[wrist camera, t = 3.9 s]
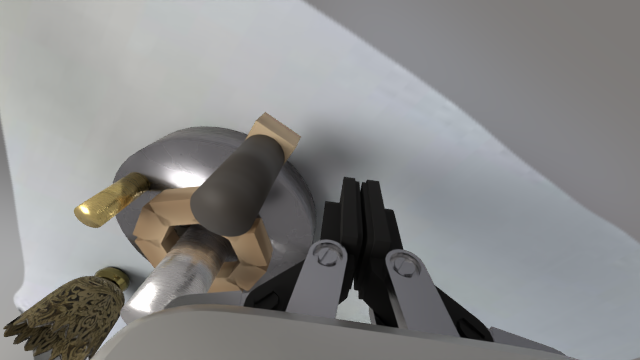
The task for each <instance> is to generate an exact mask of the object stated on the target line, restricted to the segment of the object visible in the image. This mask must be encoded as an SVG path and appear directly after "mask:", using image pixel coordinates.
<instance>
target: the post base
mask: <svg viewBox="0 0 640 360" xmlns="http://www.w3.org/2000/svg"><path fill="white" fill-rule="evenodd" d="M247 136H248V135H246V134H243V133H240V132H237V131H233V130H230V129H224V128H219V127H204V126H203V127H190V128H186V129H182V130H178V131H176V132H173V133H171V134H168V135H167V136H165V137H163V138H161V139H159V140H157V141H156V142H154V143H152V144H150V145H148V146H147V147H145V148H143V149H141V150H139V151H138V152H136V153H135V154H133V155H132V156H130V157H129V158H128V159H127V160H126V161H125V162H124V163H123V164H122V165H121V167H120V168H119V170H118V171H117V173H116V176H115V178H114V181H113V184H112V185H111V186H109V187H107V188H106V189H104V190H103V191H101V192H99V193H98V194H96V195H95V196H93V197H92V198H90V199H88V200H87V201H85V202H84V203H82V204H80V205H79V206H77V207H76V208H75V209H74V214H75V216H76V217H77V218H78V220H79V221H81V222H82V223H83V224H85V225H87V226H89V227H93V228H99V227H101V226H102V225H103V224H105V223H106V222H107V221H109V220H110V219H111V218H112V217H114V216H116V218H117V221H118V223H119V225H120V227H121V229H122V231H123V232H124V234H125V235H126V237H127V238H128V240H129V241H130V242H131V244H132V245H133V246H134V247H135V248H136V250H137V251H138V252H139V253H140V254H141V255H142V256H144V257H145V258H146V259H147V257H146V256H145V255H144V253H143V252H142V251H141V249H140V248H139V247H138V245H137V244H136V243H135V240H136V239H137V238H138V237H137V236H135V235H133V232H134V229H135V226H136V224H137V221H138V218H139V215H140V213H141V210H142V207H143V206H144V205H146V204H147V203H148V202H149V201H150V200H152V199H153V198H154V197H155V196H156V195H158V194H160V193H161V192H162V191H164V190H166V189H176V188H185V187H195V186H201V185H202V184H203V183H204V182H205V181H206V180H207V179H208V178H209V177H210V176H211V175H212V173H213V172H214V171H215V170H216V169H217V168H218V167H219V166H220V165H221V164H222V163H223V162H224V161H225V160H226V159H227V158H228V157H229V156H230V155H231V154H232V153H233V152H234V151H235V150H236V149H237V148H238V147H239V146H240V145H241V144H242V143H243V142H244V141H245V139H246V137H247ZM256 218H262V221H263V224H264V226H265V229H266V232H267V234H268V237H269V240H270V242H271V245H272V248H273V251H272V254H271V255H272V257H271V260H270V263H269V266H268V269H267V272H266V273H265V274H264V275H263V276H262V277H261V278H260V279H259V280H258V281H257V282H256V283H255V284H254V286H253V287H252V288H251V289H250V290H249V291H246V290H243V292H242V293H250V292H251V291H252V290H254V289H255V288H256V287H258V286H260V285H261V284H263V283H265V282H267V281H268V280H270V279H272V278H273V277H275V276H277V275H279V274H280V273H282V272H284V271H286V270H287V269H289V268H291V267H292V266H294V265H296V264H298V263H299V262H301V261H303V260H305V259H306V256H307V254H308V251H309V249H310V247H311V246H312V243H313V238H314V232H315V226H316V211H315V205H314V201H313V198H312V195H311V193H310V191H309V189H308V187H307V184H306V183H305V181H304V180H303V178H302V177H301V175H300V174H299V173H298V172H297V170H296V169H295V168H294V167H293V166H292V165H291V164H290V163H289V162H288V161H286V162H285V164H284V165H283V166H282V168H281V170H280V172H279V174H278V176H277V178H276V180H275V182H274V184H273V186H272V188H271V190H270V192H269V194H268V196H267V198H266V200H265V202H264V204H263V206H262V208H261V210H260V212H259V213H258V215H257V217H256ZM174 230H175V232H176V233H177V235H178V236H179V238H180V239H179V240H178V241H177V243H176V244H175V245H174V246H173V247H172V249H171V250H170V251H169V252H168V253H167V255H166V256H165V257H164V258H163V259H162V261H161V262H160V263H159V264H158V265H157V267H156V268H155V269H154V270H153V271H152V273H151V274H150V275H149V276H148V277H147V279H146V280H145V281H144V282H143V283H142V285H141V286H140V287H139V288H138V289H137V291H136V292H135V293H134V294H133V295H132V297H131V298H130V299H129V300H128V301H127V303H126V304H125V305H124V306H123V307H122V309H121V311H120V314H121V317H122V319H123V320H124V322H125V323H126V324H127V325H128V324H129V323H131V322H133V321H135V320H137V319H139V318H141V317H144V316H146V315H149V314H152V313H154V312H158V311H161V310H163V309H164V308H165V306H166V305H167V304H168V303H170V302H171V301H172V300H174V299H176V298H177V297H179V296H183V295H188V294H201V293H207V292H208V290H209V289H210V287H211V285H212V283H213V281H214V280H215V278H216V276H217V274H218V272H219V270H220V269H221V267H222V265H223V263H224V262H234V261H237V260H238V257H237V255H236V253H235V251H234V249H233V247H232V245H231V243H230V241H229V240H228V239H227V238H225V237H223V236H221V235H218V234H215V233H213V232H211V231H209V230H207V229H206V228H204V227H203V226H202V225H200V224H188V225H176V226H175V228H174ZM147 260H148V259H147ZM148 261H149V260H148ZM149 262H150V261H149Z"/></svg>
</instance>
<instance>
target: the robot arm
mask: <svg viewBox="0 0 640 360" xmlns="http://www.w3.org/2000/svg"><path fill="white" fill-rule="evenodd" d="M353 278H354V290H358V292H359V299H363V300H364V301H365V302H366V304H367V305H368V306H369V316H370V320H371V324H367V323H360V322H353V321H346V320H339V319H335V318H336V313H337V308H338V305H339V304H340V303H341V302H342V301H344V300H345V299H346V298H347V297H348V292H349V289H351V286H352V282H353ZM90 360H578V359H575V358H571V357H568V356H566V355H565V354H563V353H562V352H560V351H558V350H556V349H554V348H551V347H549V346H546V345H543V344H540V343H537V342H534V341H532V340H529V339H526V338H523V337H520V336H517V335H515V334H512V333H509V332H506V331H503V330H500V329H497V328H495V327H491V328H490V329H488V328H486V326H485V325H484V324H483V323H482V322H481V321H480V320H478V319H477V318H476V317H475V316H473V315H472V314H471V313H470V312H468V311H467V310H466V309H464V308H463V307H462V306H461V305H459V304H458V303H457V302H456V301H454V300H453V299H452V298H450V297H449V296H448V295H447V294H445V293H444V292H443V291H442V290H440V289H439V288H438V287H436V286H435V285H434V283H433V281H432V279H431V277H430V275H429V273H428V271H427V269H426V267H425V265H424V264H423V262H422V261H421V259H420V258H418V257H417V256H416V255H415V254H413V253H411V252H409V251H406V250H403V246H402V242H401V238H400V234H399V230H398V226H397V222H396V218H395V214H394V211H393V210H391V209H384V204H383V199H382V194H381V189H380V184H379V181H373V180H367V181H366V183H365V182H362V185H361V190H360V185H359V182H357V181H355V178H348V177H344V179H343V185H342V191H341V197H340V203H336V202H328V201H325V208H324V216H323V223H322V231H321V238H320V241H317V242H315V243H314V244H313V245H312V246H311V247H310V249H309V251H308V254H307V256H306V259H305V260H303V261H301V262H299V263H298V264H296V265H294V266H292V267H291V268H289V269H287V270H286V271H284V272H282V273H280V274H279V275H277V276H275V277H273V278H272V279H270V280H268V281H267V282H265V283H263V284H261V285H260V286H258V287H256V288H255V289H254V290H252V291H251V292H250V293H242V292H241V290H239V291H227V292H214V293H201V294H188V295H183V296H179V297H177V298H176V299H174V300H172V301H171V302H170V303H168V304H167V305H166V306H165V308H164V309H163V310H161V311H158V312H154V313H152V314H149V315H146V316H144V317H141V318H139V319H137V320H135V321H133V322H131V323H129V324H128V325H126V326H125V327H124V328H122V329H121V330H120V331H118V332H117V333H116V334H115V335H114V336H113V337H112V338H111V339H110V340H108V341H107V342H106V343H105V344H104V345H103V346H102V347H101V348H100V350H99V351H98V352H97V353H96V354H95V355H94V356H93V357H92V358H91V359H90Z"/></svg>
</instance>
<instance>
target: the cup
mask: <svg viewBox="0 0 640 360" xmlns="http://www.w3.org/2000/svg"><path fill="white" fill-rule="evenodd" d="M129 283H130V280H129V277H128V276H127V275H126V274H125V273H124V272H123V271H121V270H119V269H116V268H112V267H106V268H103V269H101V270H99V271H97V272H96V273H95V275H94V276H85V277H80V278H77V279H74V280H72V281H70V282H68V283H66V284H64V285H62V286H61V287H59V288H58V289H56V290H55V291H53V292H52V293H50V294H49V295H47V296H46V297H45V298H43V299H42V300H41V301H39V302H38V303H36V304H35V305H34V306H32V307H31V308H30V309H28V310H27V311H25V312H24V313H23V314H21V315H20V316H19V317H17V318H16V319H15V320H13V321H12V322H10V323H9V324H7V325H6V326H5V327H4V329H6V331H5V333H4V337H8V336H13V335H18V336H17V337H16V338H15V340H14V343H13V344H19V343H21V342H23V341H24V340H27V339H28V341H27V342H26V344H25V346H24V349H25V351H29V350H35V352H34V354H33V356H37V355H40V354H42V353H44V352H48V351H50V350H51V349H52V352H51V354H50V357H49V360H53V359H55V358H56V357H58V356H60V360H85V359H86V358H87V357H89V358H90V359H91V358H92V357H93V356H94V355H95V353H96V352H97V350H98V349H99V347H100V346H101V344H102V343H103V341H104V340H105V338H106V337H107V335H108V334H109V332H110V331H111V329H112V328H113V326H114V325H115V323H116V322H117V320H118V318H119V316H120V311H121V309H122V307H123V306H124V302H125V299H124V294H123V291H125V290H126V289H127V288H128V286H129ZM29 337H30V338H29ZM90 359H89V360H90Z"/></svg>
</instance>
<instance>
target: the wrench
mask: <svg viewBox="0 0 640 360" xmlns="http://www.w3.org/2000/svg"><path fill="white" fill-rule="evenodd" d="M300 138H301V136H299V135H298V134H296V133H295V132H294V131H292V130H291V129H289V128H288V127H286V126H285V125H283V124H282V123H281V122H279V121H278V120H276V119H275V118H273V117H272V116H270V115H269V114H267V113H266V112H265V113H264V114H263V115H262V116H261V117H259V118H258V119H257V120H256V122H255V123H254V125H253V127H252V129H251V130H250V132H249V134H248V136H247V137H246V139H245V141H244V142H243V143H242V144H241V145H240V146H239V147H238V148H237V149H236V150H235V151H234V152H233V153H232V154H231V155H230V156H229V157H228V158H227V159H226V160H225V161H224V162H223V163H222V164H221V165H220V166H219V167H218V168H217V169H216V170H215V171H214V172H213V173H212V175H211V176H210V177H209V178H208V179H207V180H206V181H205V182H204V183H203V184H202V185H201V186H195V187H185V188H176V189H166V190H164V191H162V192H161V193H160V194H158V195H156V196H155V197H154V198H153V199H152V200H150V201H149V202H148V203H147V204H146V205H144V206H143V207H142V210H141V213H140V215H139V218H138V221H137V224H136V226H135V229H134V232H133V235H135V236H137V237H138V238H137V239H136V240H135V243H136V244H137V245H138V247H139V248H140V249H141V251H142V252H143V253H144V255H145V256H146V257H147V259H148V260H149V261H150V263H151V264H152V266H153V267H154V268H156V267H157V265H158V264H159V263H160V262H161V261H162V259H163V258H164V257H165V256H166V255H167V253H168V252H169V251H170V250H171V249H172V247H173V246H174V245H175V244H176V243H177V241H178V240H179V239H180V238H179V236H178V235H177V233H176V232H175V230H174V228H175V226H176V225H188V224H200V225H202V226H203V227H204V228H206V229H207V230H209V231H211V232H213V233H215V234H218V235H221V236H223V237H225V238H227V239H228V240H229V241H230V243H231V245H232V247H233V249H234V251H235V253H236V255H237V257H238V260H237V261H234V262H224V263H223V265H222V267H221V269H220V270H219V272H218V274H217V276H216V278H215V280H214V281H213V283H212V285H211V287H210V289H209V290H208V292H207V293H214V292H227V291H239V290H241V292H243V290H246V291H249V290H250V289H251V288H252V287H253V286H254V284H255V283H256V282H257V281H258V280H259V279H260V278H261V277H262V276H263V275H264V274H265V273H266V272H267V269H268V266H269V263H270V260H271V257H272V255H271V254H272V251H273V248H272V245H271V242H270V240H269V237H268V234H267V232H266V229H265V226H264V224H263V221H262V218H256V217H257V215H258V213H259V212H260V210H261V208H262V206H263V204H264V202H265V200H266V198H267V196H268V194H269V192H270V190H271V188H272V186H273V184H274V182H275V180H276V178H277V176H278V174H279V172H280V170H281V168H282V166H283V165H284V164H285V162H286V161H287V159H288V158H289V156H290V155H291V154H292V152H293V151H294V149H295V148H296V146H297V144H298V142H299V140H300Z"/></svg>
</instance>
